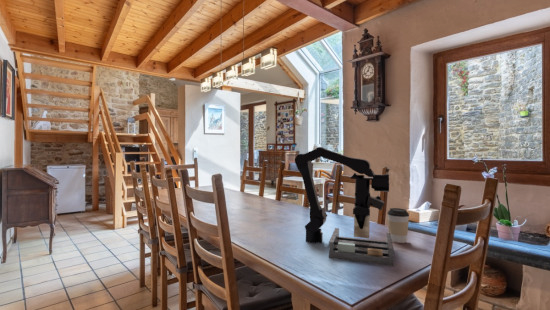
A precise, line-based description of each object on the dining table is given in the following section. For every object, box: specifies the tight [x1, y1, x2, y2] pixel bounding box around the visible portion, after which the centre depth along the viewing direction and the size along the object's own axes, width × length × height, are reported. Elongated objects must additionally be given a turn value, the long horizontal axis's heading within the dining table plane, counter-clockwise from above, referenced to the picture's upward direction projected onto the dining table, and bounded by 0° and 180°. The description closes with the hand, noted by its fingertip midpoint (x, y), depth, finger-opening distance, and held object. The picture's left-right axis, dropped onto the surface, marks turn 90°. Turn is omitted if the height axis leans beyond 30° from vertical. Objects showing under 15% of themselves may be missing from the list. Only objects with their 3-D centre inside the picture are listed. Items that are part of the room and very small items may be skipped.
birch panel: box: [353, 214, 371, 239], centre depth 121 cm, size 6×2×9 cm, turn 72°
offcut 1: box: [338, 242, 355, 253], centre depth 109 cm, size 6×2×5 cm, turn 72°
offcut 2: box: [368, 248, 383, 256], centre depth 106 cm, size 5×2×4 cm, turn 72°
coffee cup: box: [386, 207, 410, 244], centre depth 130 cm, size 9×9×15 cm
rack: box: [328, 227, 395, 267], centre depth 114 cm, size 22×20×7 cm
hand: (361, 228), depth 121 cm, fingers closed on birch panel, 2 cm apart
